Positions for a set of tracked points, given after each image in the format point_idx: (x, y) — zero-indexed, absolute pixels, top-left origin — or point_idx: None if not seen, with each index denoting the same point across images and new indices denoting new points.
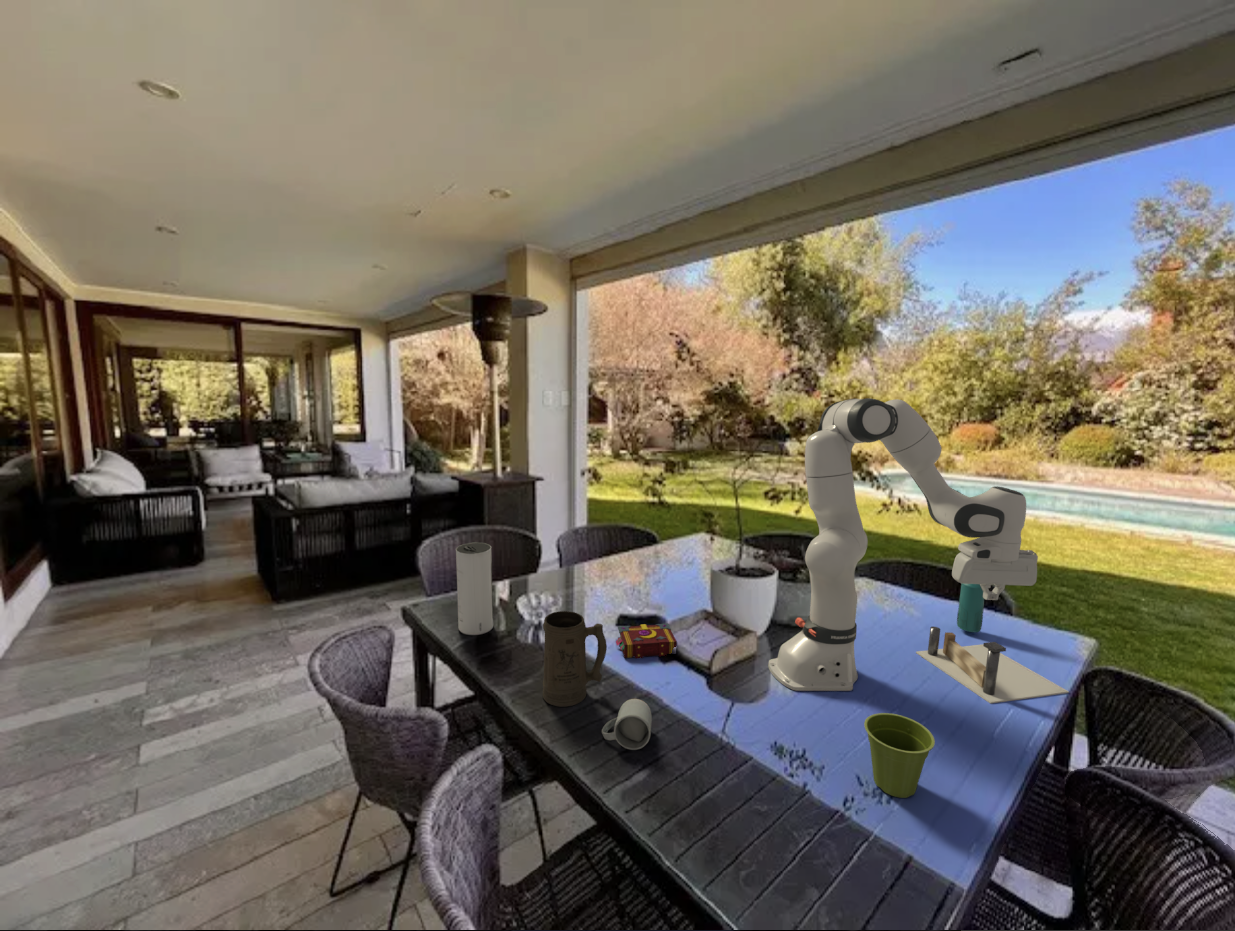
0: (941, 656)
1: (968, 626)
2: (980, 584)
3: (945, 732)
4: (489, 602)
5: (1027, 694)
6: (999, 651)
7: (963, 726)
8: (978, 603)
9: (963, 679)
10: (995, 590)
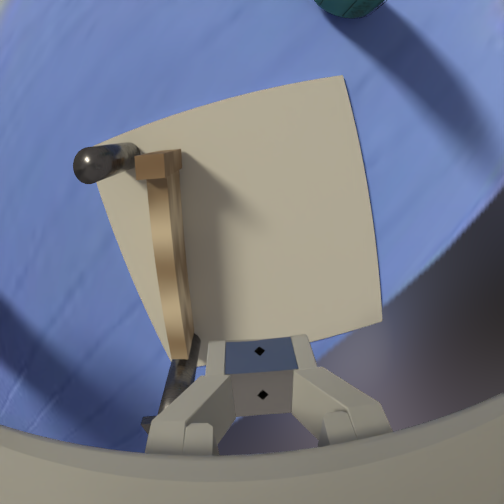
0: None
1: (328, 5)
2: (151, 430)
3: (80, 416)
4: None
5: None
6: None
7: (106, 411)
8: None
9: (154, 292)
10: (308, 404)
